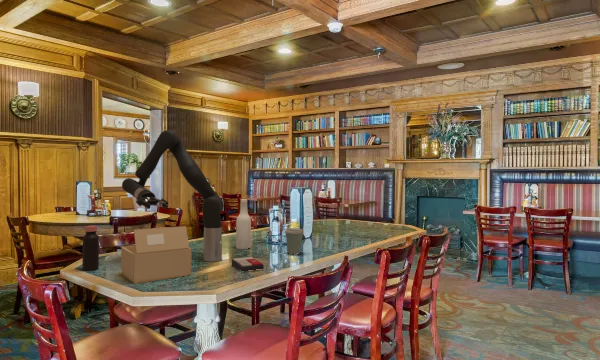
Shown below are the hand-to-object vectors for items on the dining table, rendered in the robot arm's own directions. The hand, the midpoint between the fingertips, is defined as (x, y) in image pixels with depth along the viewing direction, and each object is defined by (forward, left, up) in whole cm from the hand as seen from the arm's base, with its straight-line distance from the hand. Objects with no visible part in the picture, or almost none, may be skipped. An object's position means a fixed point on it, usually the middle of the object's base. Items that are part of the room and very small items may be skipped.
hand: (158, 207), depth 191 cm
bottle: (+30, -5, -29) cm, 42 cm away
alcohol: (-46, -45, -29) cm, 71 cm away
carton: (0, +11, -29) cm, 31 cm away
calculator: (-42, +6, -30) cm, 52 cm away
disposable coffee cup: (-72, -22, -29) cm, 81 cm away
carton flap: (-3, +18, -12) cm, 22 cm away
